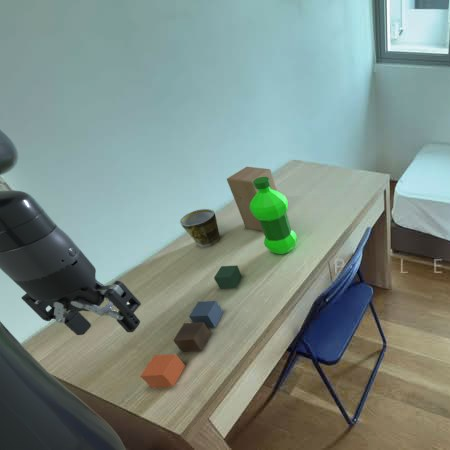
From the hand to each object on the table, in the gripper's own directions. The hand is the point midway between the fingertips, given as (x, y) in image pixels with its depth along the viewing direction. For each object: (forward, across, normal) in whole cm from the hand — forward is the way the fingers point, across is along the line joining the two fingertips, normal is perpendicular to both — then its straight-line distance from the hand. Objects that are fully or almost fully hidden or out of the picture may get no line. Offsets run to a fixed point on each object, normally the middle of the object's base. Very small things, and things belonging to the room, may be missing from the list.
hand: (110, 329), depth 54 cm
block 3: (+19, +3, +9) cm, 21 cm away
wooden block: (+19, +3, +59) cm, 63 cm away
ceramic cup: (+19, -13, +48) cm, 54 cm away
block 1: (+18, +1, +1) cm, 19 cm away
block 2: (+19, +3, +16) cm, 25 cm away
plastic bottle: (+19, +14, +43) cm, 49 cm away
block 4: (+19, +3, +29) cm, 35 cm away
